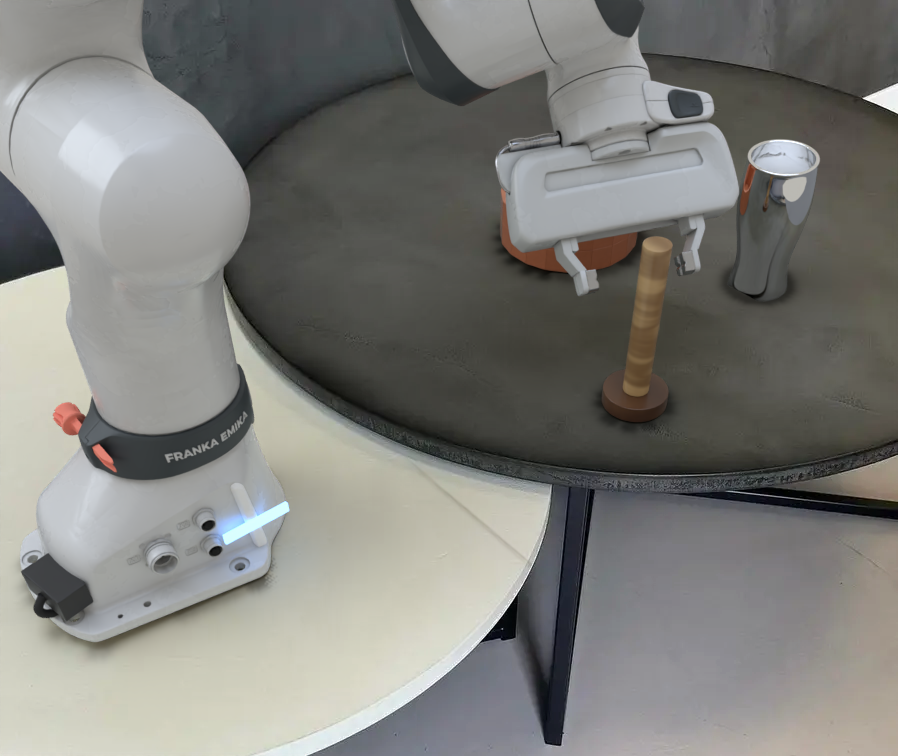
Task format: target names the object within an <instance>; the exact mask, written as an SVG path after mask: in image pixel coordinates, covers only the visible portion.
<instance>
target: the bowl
mask: <svg viewBox="0 0 898 756" xmlns="http://www.w3.org/2000/svg"><path fill="white" fill-rule="evenodd" d="M499 235H500V241H501V244H502V246H503V247H504V248H505V249H506V250H507V252H508V254H510V255H511V256H512V257H514V258H515V259H517V260H519V261H521V262H522V263H524V264H526V265H529V266H532V267H534V268H538V269H541V270H544V271H549V272H559V273H568V272H567V271H566V270H565V269H564V268H563V267H562V266H561V264H560V263H559V262H558V261H557V260H556V255H555V251H554V247H553V248H547V249H542V250H537V251H531V252H525V253H522V252H521V251H519V250H518V249H517V248H516V247H515V246H514V245H513V244H512V243H511V240H510V234H509V228H508V220H507V211H506V192H505V191H504V190H503V189H502V188H501V189H500V210H499ZM638 236H639V232H634V233H629V234H623V235H618V236H612V237H607V238H602V239H596V240H591V241H585V242H580V243H578V248H579V250H578V251H577V252H576V253H574V255H575V256H576V257H577V258H578V260H579V261H580V262H581V263H582V265H583V266H584V267H585V268H586V271H587V270H593V269H596V271H597V270H601V269H605V268H609V267H611V266H613V265H615V264H617V263H618V262H620V261H621V260H624V259H625V258H626V257H627V256H628V255H629V254H630V253H631V251H632V250H633V249H634V248H635V247H636V245H637V240H638Z"/></svg>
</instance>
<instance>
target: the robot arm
mask: <svg viewBox="0 0 898 756" xmlns="http://www.w3.org/2000/svg"><path fill="white" fill-rule="evenodd" d="M144 1H145V0H0V173H2V174H3V175H4V176H5V178H6V179H7V180H9V182H10V183H11V184H12V185H13V186H14V187H16V189H17V190H19V191H20V193H21V194H23V196H24V197H25V198H26V199H27V200H28V202H29V203H30V204H31V205H32V206H33V208H34V209H35V210H36V212H37V213H38V215H39V216H40V217H41V220H42V221H43V222H44V224H45V225H46V227H47V228H48V230H49V232H50V233H51V236H52V237H53V239H54V240H55V243H56V245H57V248H58V249H59V252H60V255H61V258H62V261H63V264H64V267H65V271H66V276H67V284H68V290H69V291H68V293H69V302H68V305H67V307H66V312H65V324H66V327H67V331H68V333H69V335H70V338H71V341H72V344H73V346H74V349H75V352H76V356H77V357H78V360H79V363H80V366H81V370H82V372H83V375H84V377H85V380H86V383H87V386H88V388H89V391H90V394H91V398H90V403H89V409H88V411H87V413H86V415H85V414H84V413H82V412H81V410H80V408H79V407H78V406H77V405H76V404H75V403H73V402H71V401H70V402H69V401H67V402H62V403H60V404H58V405H57V406H56V407H55V409H54V412H53V413H52V417H53V418H52V419H53V421H54V422H55V423H56V425H57V426H59V427H61V430H62V432H63V433H64V434H66V435H68V436H73V437H74V436H77V437H78V440H79V443H80V446H79V447H78V448H77V449H76V451H75V452H74V453H73V455H72V456H71V457H70V458H69V459H68V461H67V462H66V463H65V464H64V466H63V467H62V468H61V469H60V470H59V471H58V473H56V474H55V476H54V477H53V478H52V480H51V481H50V482H49V484H48V485H47V486H46V487H44V489H43V490H42V491H41V492H40V494H39V496H38V498H37V501H36V506H35V522H36V529H34V530H32V531H31V532H30V533H28V534H27V535H26V536H25V537H24V538H23V540H22V542H21V544H20V545H21V546H20V551H19V564H20V568H21V569H20V570H21V571H20V573H21V575H22V577H23V579H24V582H25V584H26V586H27V589H28V591H29V592H30V594H31V596H32V598H33V599H34V603H33V612H34V613H35V615H36V616H37V617H39V618H40V619H50V620H51V622H52V623H53V624H55V625H56V626H57V627H59V628H60V629H61V630H62V631H64V632H66V633H67V634H68V635H71V636H72V637H76V638H77V639H79V640H83V641H87V642H90V643H91V642H92V643H99V642H102V641H105V640H108V639H111V638H113V637H116V636H119V635H121V634H123V633H126V632H128V631H131V630H133V629H136V628H138V627H141V626H143V625H146V624H148V623H150V622H151V623H152V622H153V621H155V620H157V619H161V618H163V617H166V616H168V615H171V614H172V613H175V612H178V611H180V610H182V609H183V610H184V609H185V608H188V607H191V606H193V605H195V604H198V603H200V602H203V601H206V600H208V599H210V598H212V597H215V596H217V595H220V594H222V593H225V592H227V591H230V590H232V589H235V588H238V587H240V586H242V585H244V584H247V583H250V582H252V581H255V580H257V579H260V578H262V577H263V576H264V575H266V574H267V573H268V572H269V569H270V567H271V563H272V545H273V542H274V540H275V538H276V536H277V535H278V533H279V531H280V529H281V528H282V525H283V523H284V521H285V517H286V513H289V512H290V508H289V502H287V497H286V494H285V491H284V488H283V486H282V484H281V483H280V480H278V478H277V477H276V475H275V474H274V472H273V471H272V469H271V467H270V465H269V463H268V461H267V459H266V457H265V455H264V452H263V450H262V447H261V445H260V443H259V442H260V441H259V440H258V437H257V433H256V431H255V428H254V423H255V413H254V407H253V398H252V395H251V391H250V387H249V384H248V381H247V377H246V374H245V371H244V369H243V367H242V365H241V364H240V363H238V361H237V357H236V352H235V348H234V343H233V338H232V333H231V328H230V323H229V319H228V314H227V308H226V303H225V295H224V268H225V266H226V265H227V264H228V263H229V262H230V261H231V260H232V258H233V257H234V255H235V254H236V253H237V251H238V250H239V248H240V246H241V244H242V243H243V240H244V238H245V235H246V232H247V229H248V226H249V221H250V216H251V193H250V188H249V183H248V180H247V178H246V174H245V172H244V170H243V168H242V166H241V165H240V163H239V161H238V160H237V158H236V157H235V155H234V154H233V153H232V151H231V149H230V147H228V145H227V143H226V142H225V141H224V139H223V138H222V137H221V136H220V134H219V132H217V130H216V129H215V127H214V126H213V125H212V124H211V123H210V122H209V120H208V119H207V118H206V117H205V115H204V114H203V113H202V112H201V111H199V110H198V109H197V108H196V107H195V106H193V105H192V104H191V103H190V102H188V101H187V100H185V99H183V98H182V97H181V96H179V95H178V94H176V93H175V92H174V91H172V90H171V89H169V88H168V87H167V86H165V85H164V84H162V83H161V82H160V81H158V80H157V79H156V78H155V77H154V75H153V72H152V71H151V69H150V65H149V63H148V60H147V57H146V53H145V49H144V44H143V15H144V4H145V3H144ZM390 2H391V5H392V8H393V11H394V15H395V18H396V22H397V25H398V30H399V33H400V37H401V42H402V43H401V44H402V47H403V51H404V54H405V58H406V61H407V63H408V66H409V68H410V70H411V72H412V75H413V76H414V78H415V80H416V82H417V84H418V85H419V87H420V88H421V89H422V90H423V91H424V92H426V93H427V94H430V95H431V96H433V97H434V98H437V99H439V100H441V101H444V102H446V103H449V104H451V105H455V106H458V107H465V106H467V105H469V104H471V103H473V102H475V101H477V100H479V99H481V98H483V97H486V96H488V95H489V94H491V93H493V92H496V91H498V90H499V89H500V88H501V87H503V86H505V85H508V84H510V83H513V82H516V81H519V80H521V79H524V78H527V77H530V76H532V75H535V74H537V73H540V72H543V71H544V72H545V76H546V83H547V87H546V91H547V92H546V103H547V106H548V112H549V116H550V121H551V126H552V130H553V131H551V132H547V133H542V134H537V135H534V136H531V137H530V136H529V137H525V138H524V137H516V138H513V139H510V140H508V141H507V143H506V145H505V146H503V147H501V148H500V149H499V150H498V152H497V153H496V156H495V158H494V159H495V160H494V168H495V172H496V176H497V180H498V183H499V185H500V187H501V189H503V190H504V191H505V192H506V211H507V220H508V228H509V234H510V240H511V243H512V244H513V245H514V246H515V247H516V248H517V249H518V250H519V251H521V252H522V253H525V252H531V251H537V250H542V249H547V248H553V247H554V251H555V255H556V260H557V261H558V262H559V263H560V264H561V266H562V267H563V268H564V269H565V270H566V271H567V273H568V275H569V276H570V277H571V278H572V279H573V283H574V288H575V291H576V294H577V296H578V297H582V296H586V295H591V294H595V293H596V292H598V291H599V290H600V283H599V281H598V280H597V278H598V273H597V270H596V269H593V270H587V271H586V268H585V267H584V266H583V265H582V263H581V262H580V261H579V260H578V258H577V257H576V256H575V255H574V253H576V252H577V251H578V250H579V248H578V243H580V242H585V241H591V240H596V239H602V238H607V237H612V236H618V235H623V234H629V233H634V232H638V233H641V232H645V231H649V230H655V229H661V228H666V227H672V226H677V227H678V230H679V235H680V236H681V237H684V236H686V238H685V242H684V245H683V249H682V252H681V253H679V254H677V255H675V256H674V257H673V261H674V265H675V267H676V274H677V276H678V277H685V276H691V275H694V274H697V273H698V272H701V268H702V267H701V266H702V265H701V260H700V256H699V249H700V247H701V243H702V240H703V238H704V237H703V236H704V233H705V230H706V224H705V223H706V222H705V220H709V219H714V218H718V217H720V216H722V215H724V214H726V213H727V212H729V211H731V209H733V208H735V205H736V204H737V201H738V196H739V189H740V185H739V181H738V177H737V173H736V168H735V163H734V161H733V157H732V153H731V151H730V148H729V144H728V142H727V139H726V137H725V136H724V134H723V131H721V130H720V128H719V127H717V126H716V125H715V124H714V123H711V122H709V120H710V119H711V118H712V116H714V113H715V105H714V99H713V98H712V96H711V94H709V93H708V92H705V91H702V90H695V89H690V88H684V87H680V86H675V85H670V84H666V83H662V82H659V81H655V80H652V78H651V74H650V69H649V67H648V64H647V62H646V61H645V59H644V57H643V55H642V53H641V50H640V45H639V44H640V43H639V34H640V33H639V32H640V31H639V30H640V24H641V23H640V22H641V20H642V18H643V15H644V12H645V9H646V7H645V4H644V0H390ZM507 151H508V152H507Z"/></svg>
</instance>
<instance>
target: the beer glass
mask: <svg viewBox="0 0 898 756" xmlns="http://www.w3.org/2000/svg"><path fill="white" fill-rule="evenodd" d="M820 162H821V158H820V154H819V153H818V151H817V150H816V149H815V148H813V147H811V146H810V145H808V144H806V143H804V142H801V141H797V140H792V139H783V138H777V139H776V138H775V139H769V140H764V141H760V142H759V143H756V144H755V145H753V146H751V148H750V149H749V150H748V152H747V157H746V161H745V165H744V169H743V172H742V176H741V180H740V183H739V196H738V198H737V201H736V214H735V215H736V219H735V222H736V225H735V227H736V229H735V230H736V252H735V260H734V263H733V265H732V266H733V267H732V269H731V271H730V274H729V276H728V279H727V286H729V287H730V288H733V289H735V290H736V291H738V292H740V293H741V294H743V295H745V296H747V297H749V298H751V299H753V300H755V301H756V302H769V301H773V300H777V299H778V298H780V297H783V296H784V294H785V293H786V291H787V289H788V269H789V264H790V260H791V258H792V255H793V253H794V250H795V249H796V246H797V245H798V242H799V239H800V237H801V235H802V233H803V230H804V228H805V226H806V223H807V221H808V218H809V216H810V212H811V208H812V205H813V201H814V197H815V192H816V187H817V179H818V172H819V166H820Z"/></svg>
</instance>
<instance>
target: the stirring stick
mask: <svg viewBox="0 0 898 756" xmlns="http://www.w3.org/2000/svg"><path fill="white" fill-rule="evenodd" d="M673 246H674V245H673V242H672V241H671V240H670V239H669V238H666V237H663V236H649V237H647V238H644V240H643V242H642V245H641V253H640V259H639V267H638V273H637V281H636V288H635V296H634V303H633V309H632V311H633V312H632V318H631V324H630V332H629V339H628V346H627V353H626V360H625V368H624V369H619V370H617V371H614V372H612V373H610V374H609V375H608V376H607V377H606V378H605V379H604V381H603V384H602V391H601V403H602V406H603V408H604V409H605V411H607V412H608V413H609V414H610V415H611V416H613V417H614V418H616V419H619V420H621V421H625V422H631V423H645V422H649V421H652V420H655V419H657V418H658V417H660V416H661V415H663V414H664V412H665V410H666V409H667V405H668V399H669V395H670V392H669V386H668V384H667V382H666V381H665V380H664V379H663V378H662V377H661V376H659V375H657V374H656V373H654V372H653V367H654V361H655V356H656V350H657V345H658V337H659V332H660V326H661V319H662V313H663V308H664V300H665V295H666V289H667V282H668V276H669V270H670V264H671V259H672V252H673Z"/></svg>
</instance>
